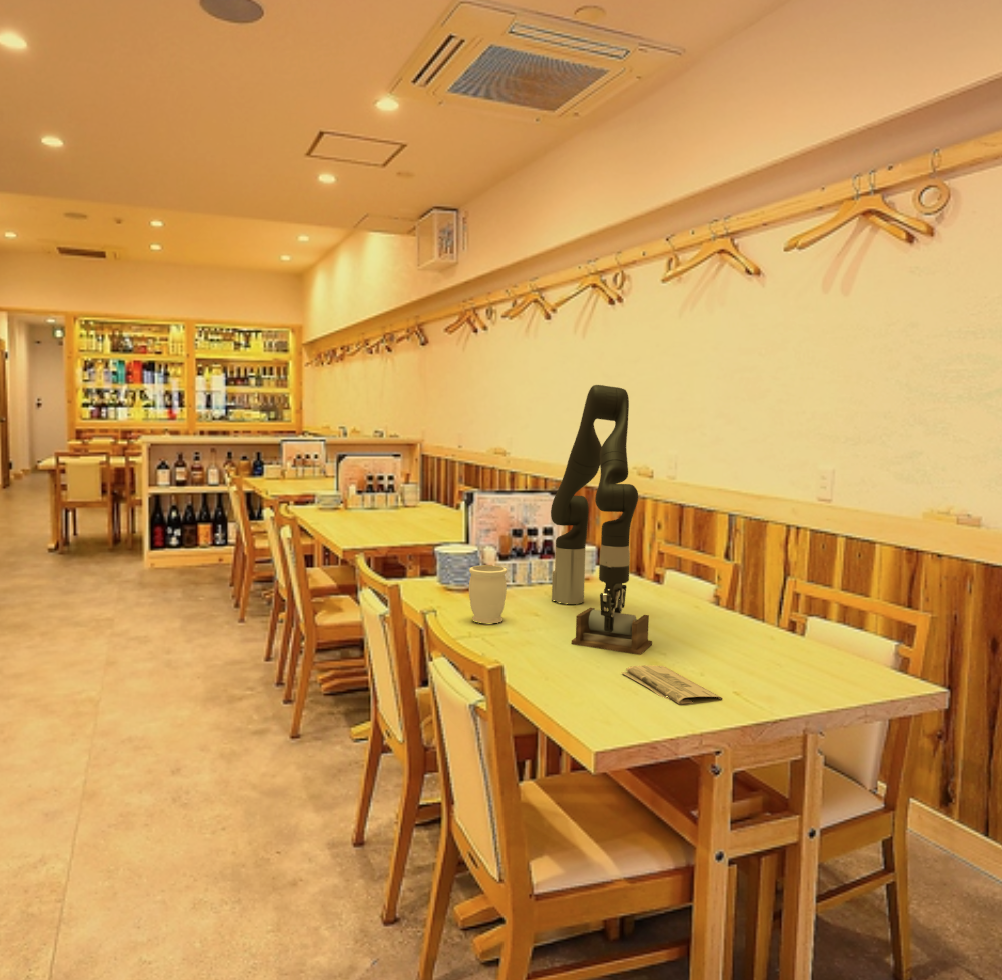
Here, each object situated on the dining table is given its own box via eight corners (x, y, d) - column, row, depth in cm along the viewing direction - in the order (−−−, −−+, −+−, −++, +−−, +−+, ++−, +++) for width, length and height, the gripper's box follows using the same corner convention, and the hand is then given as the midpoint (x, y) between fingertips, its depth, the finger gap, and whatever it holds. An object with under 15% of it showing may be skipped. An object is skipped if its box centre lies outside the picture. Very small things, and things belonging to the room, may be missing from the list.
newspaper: (618, 675, 181) (619, 665, 180) (664, 676, 185) (666, 665, 185) (673, 710, 159) (674, 697, 159) (724, 709, 164) (725, 697, 164)
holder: (571, 644, 203) (572, 615, 202) (585, 634, 212) (586, 606, 211) (640, 654, 195) (641, 624, 194) (651, 644, 204) (653, 615, 203)
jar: (507, 617, 228) (508, 565, 227) (504, 626, 218) (505, 572, 217) (470, 615, 229) (471, 564, 228) (465, 625, 219) (466, 571, 218)
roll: (588, 632, 203) (588, 612, 203) (595, 627, 208) (595, 607, 207) (630, 638, 198) (630, 617, 198) (636, 633, 203) (637, 613, 202)
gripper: (609, 557, 209) (607, 620, 211) (590, 565, 197) (588, 633, 198) (637, 559, 206) (635, 624, 207) (619, 568, 193) (617, 637, 195)
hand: (612, 628), depth 203 cm, fingers closed on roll, 5 cm apart
